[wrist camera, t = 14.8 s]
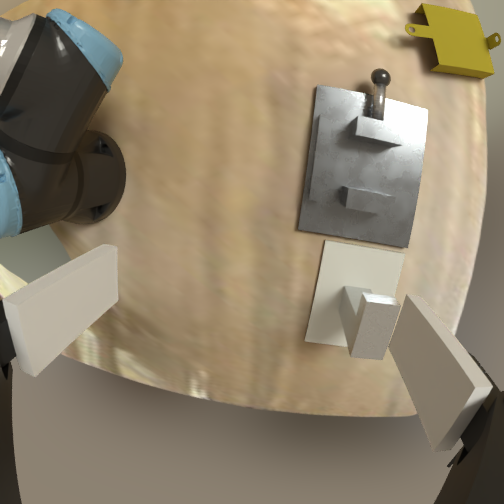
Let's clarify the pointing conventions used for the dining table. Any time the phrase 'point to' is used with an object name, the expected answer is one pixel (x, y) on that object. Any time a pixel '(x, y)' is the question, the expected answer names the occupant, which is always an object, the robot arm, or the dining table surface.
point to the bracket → (457, 41)
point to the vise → (363, 165)
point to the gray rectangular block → (367, 321)
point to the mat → (349, 274)
